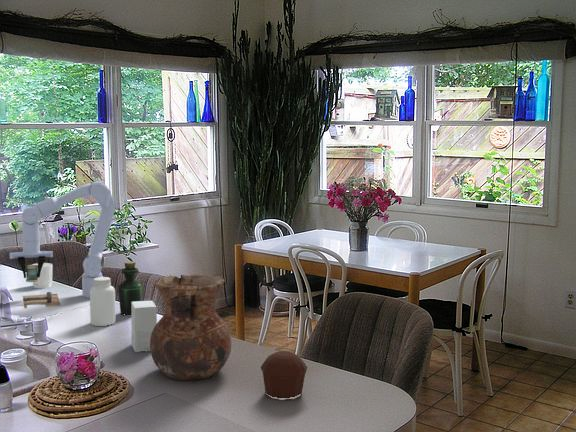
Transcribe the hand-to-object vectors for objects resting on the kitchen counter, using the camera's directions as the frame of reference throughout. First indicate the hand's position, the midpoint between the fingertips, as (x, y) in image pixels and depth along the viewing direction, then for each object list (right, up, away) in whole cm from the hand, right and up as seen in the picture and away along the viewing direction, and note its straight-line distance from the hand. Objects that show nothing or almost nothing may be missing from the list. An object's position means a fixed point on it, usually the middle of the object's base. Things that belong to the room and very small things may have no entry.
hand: (31, 277), depth 244 cm
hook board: (+4, -10, -1) cm, 11 cm away
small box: (+51, -16, -48) cm, 72 cm away
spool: (0, -1, 0) cm, 1 cm away
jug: (+68, -19, -67) cm, 97 cm away
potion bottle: (+38, -12, -11) cm, 42 cm away
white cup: (-4, -7, +21) cm, 23 cm away
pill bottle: (+33, -13, -24) cm, 43 cm away
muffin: (+92, -21, -81) cm, 124 cm away
